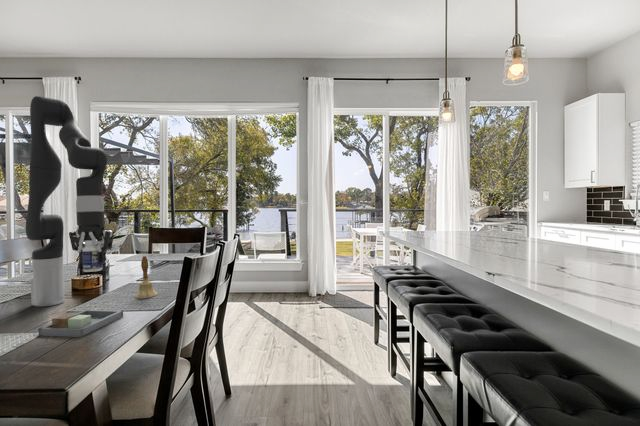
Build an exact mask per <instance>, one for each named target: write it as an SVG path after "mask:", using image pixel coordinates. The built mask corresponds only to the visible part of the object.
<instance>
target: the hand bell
mask: <svg viewBox="0 0 640 426" xmlns="http://www.w3.org/2000/svg"><path fill="white" fill-rule="evenodd" d="M140 267H141V270H142V279H143V280H142V281H141V282H140V283H139V286H138V287H139V288H138V290H137V293H136V294H135V295H134V298H135V299H149V298H153V297H156V296H158V292H156V291H155V289H154V286H153V282H152V281H150V280H149V276H148V269H149V260H148V257H147V256H146V255H145V256H142V258H141V264H140Z"/></svg>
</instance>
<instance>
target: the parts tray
mask: <svg viewBox="0 0 640 426" xmlns="http://www.w3.org/2000/svg"><path fill="white" fill-rule="evenodd" d="M73 315H76V316H77V315H91V324H90V325H87V326H85V327H83V328H81V329H73V328H52V322H51V323H49V324H46V325H44V326H42V327H39V328H38V330H37V331H38V336H41V337H42V336H43V337H44V336H45V337H70V338H71V337H72V338H82V337H84V336H86V335H88V334H90V333H92V332H94V331H96V330H99V329H100V328H103V327H105V326H107V325H108V324H111V323H113V322H115V321H118V320H119V319H121V318H124V310H109V309H108V310H106V309H105V310H104V309H103V310H102V309H84V310H82V311H80V312H77V313H75V314H73Z"/></svg>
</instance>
